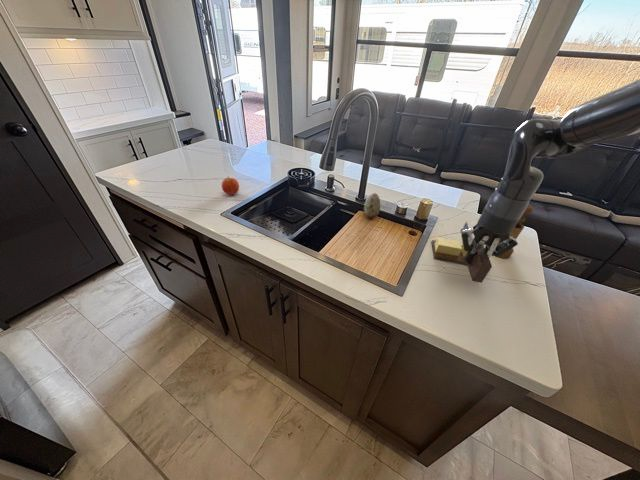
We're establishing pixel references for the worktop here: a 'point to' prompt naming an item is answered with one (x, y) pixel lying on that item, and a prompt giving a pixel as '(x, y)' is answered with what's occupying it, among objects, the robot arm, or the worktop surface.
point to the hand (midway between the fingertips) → (473, 262)
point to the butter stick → (448, 246)
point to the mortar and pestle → (517, 230)
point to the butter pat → (464, 251)
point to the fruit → (230, 186)
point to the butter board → (448, 256)
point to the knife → (478, 262)
